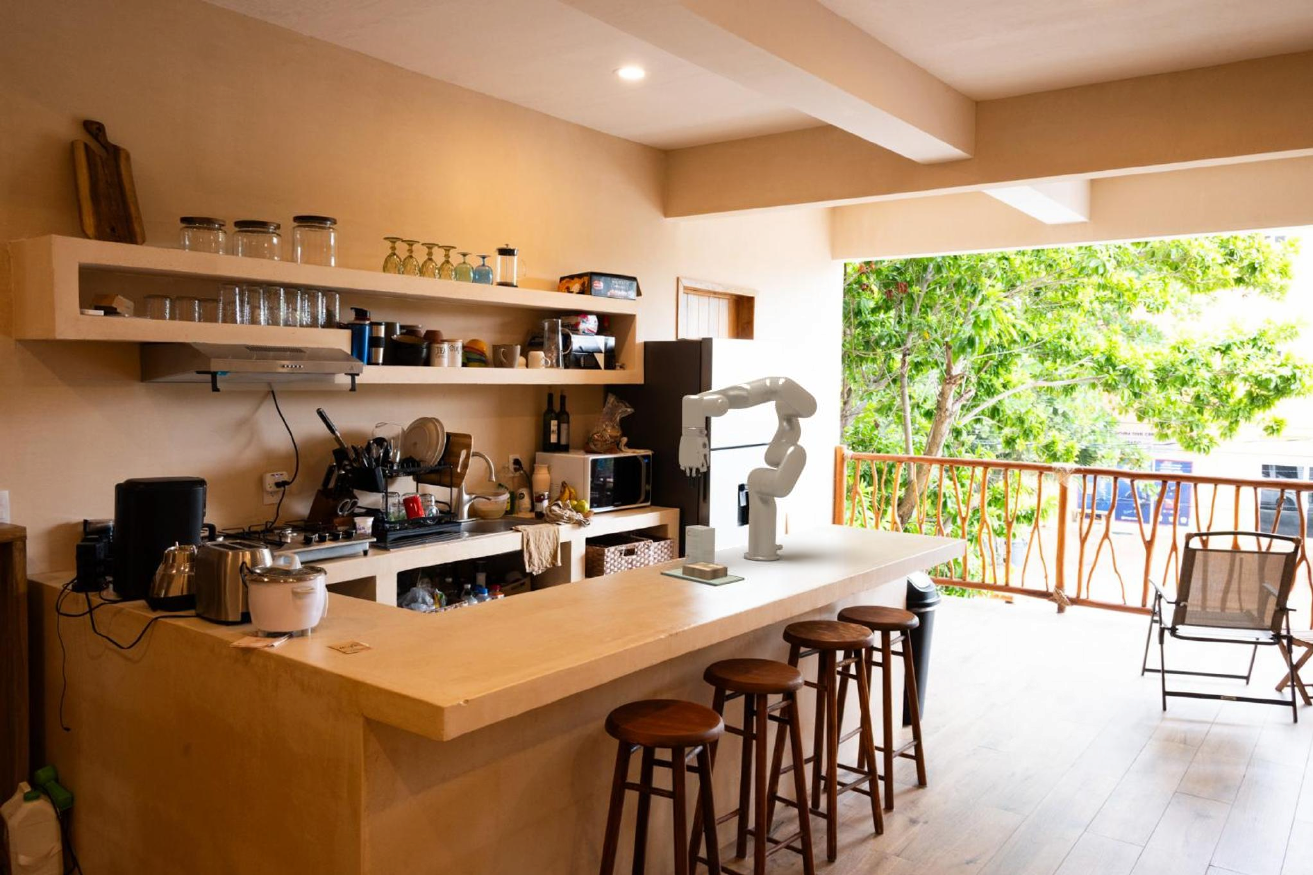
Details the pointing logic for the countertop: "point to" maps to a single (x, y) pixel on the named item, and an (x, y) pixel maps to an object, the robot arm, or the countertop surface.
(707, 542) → the small box
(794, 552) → the countertop surface
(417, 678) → the countertop surface
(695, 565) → the slab
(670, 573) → the mat
